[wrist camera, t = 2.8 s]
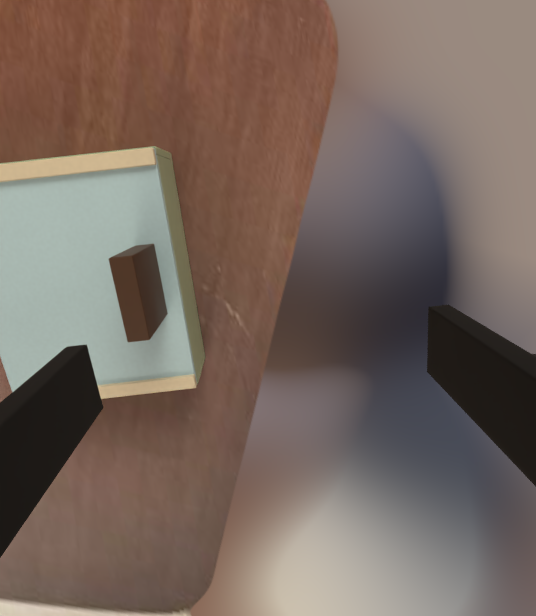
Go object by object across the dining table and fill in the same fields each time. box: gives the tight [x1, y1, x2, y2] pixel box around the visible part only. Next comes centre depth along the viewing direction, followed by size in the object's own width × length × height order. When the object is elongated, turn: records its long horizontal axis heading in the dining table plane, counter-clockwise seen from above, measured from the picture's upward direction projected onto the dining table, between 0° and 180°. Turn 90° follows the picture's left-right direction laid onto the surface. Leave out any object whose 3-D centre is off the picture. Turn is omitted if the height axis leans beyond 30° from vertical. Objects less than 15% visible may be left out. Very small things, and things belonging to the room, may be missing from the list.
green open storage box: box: [0, 146, 205, 384], centre depth 35 cm, size 16×20×6 cm
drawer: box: [0, 148, 197, 399], centre depth 29 cm, size 16×20×7 cm
